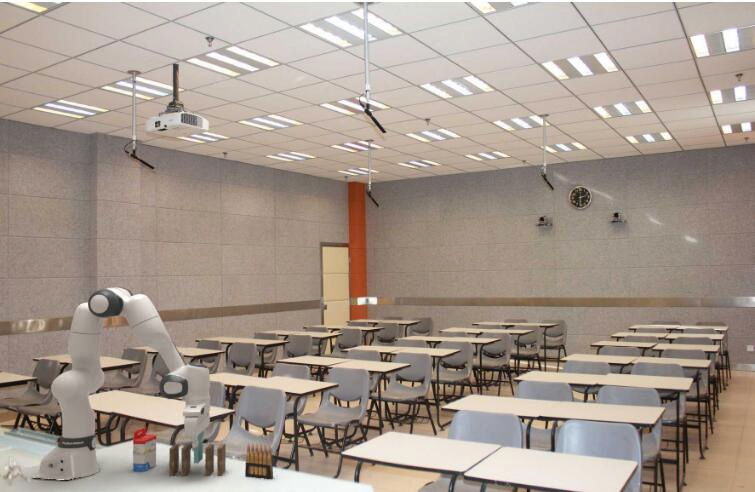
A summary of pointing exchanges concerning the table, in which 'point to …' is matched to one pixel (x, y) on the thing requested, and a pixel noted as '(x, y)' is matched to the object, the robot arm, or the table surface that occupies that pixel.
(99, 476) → the table surface
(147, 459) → the ink box
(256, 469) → the pencil set
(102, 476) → the table surface
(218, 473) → the domino
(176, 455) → the domino
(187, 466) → the domino
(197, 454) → the domino
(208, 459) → the domino
